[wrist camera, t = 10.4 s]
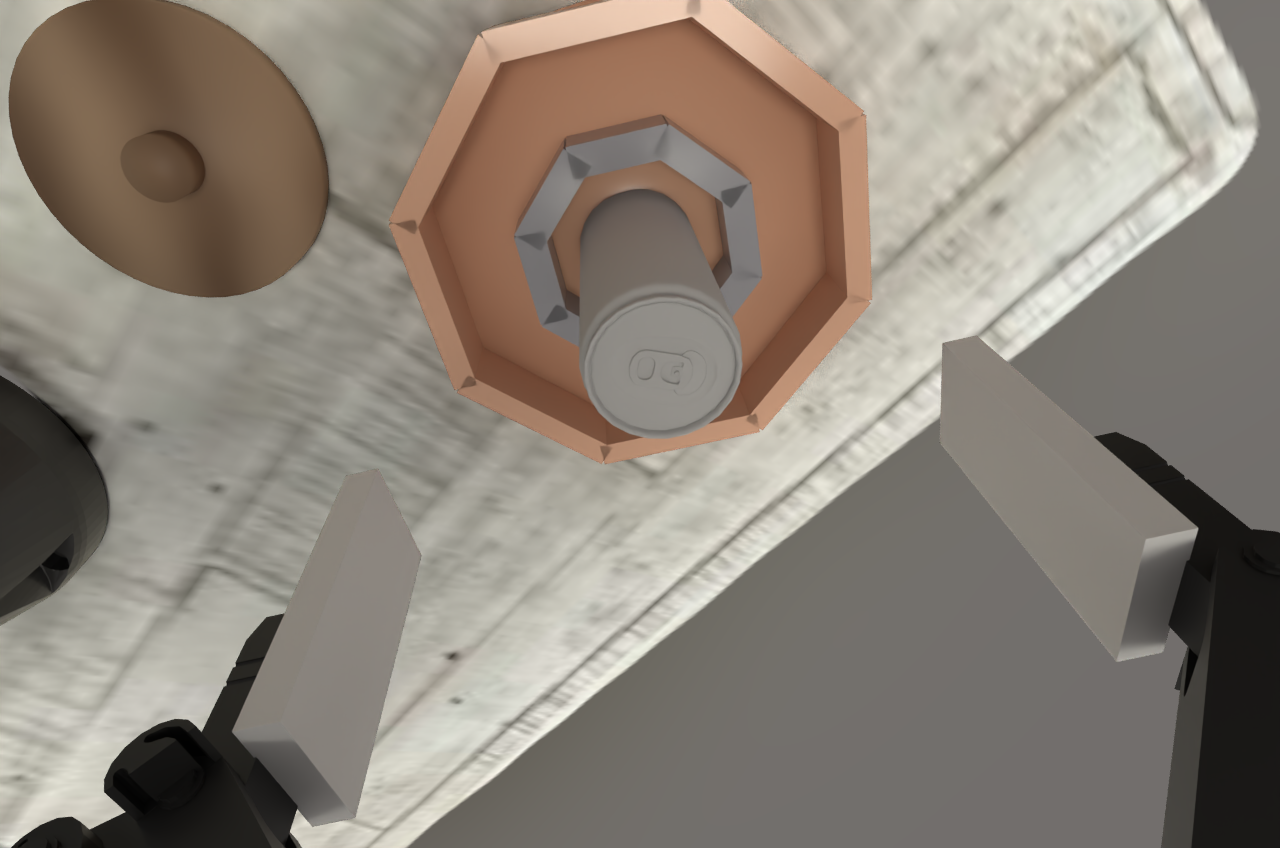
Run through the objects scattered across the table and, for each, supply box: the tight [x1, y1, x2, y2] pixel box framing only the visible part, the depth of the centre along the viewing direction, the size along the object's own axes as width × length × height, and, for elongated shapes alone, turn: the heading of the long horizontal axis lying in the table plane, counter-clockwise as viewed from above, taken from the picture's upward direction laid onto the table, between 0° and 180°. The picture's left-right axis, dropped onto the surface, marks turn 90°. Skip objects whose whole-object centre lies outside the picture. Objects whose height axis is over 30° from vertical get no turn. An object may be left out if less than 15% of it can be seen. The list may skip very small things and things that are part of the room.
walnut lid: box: [9, 0, 329, 297], centre depth 28 cm, size 11×11×3 cm
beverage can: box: [579, 189, 742, 439], centre depth 25 cm, size 5×5×12 cm
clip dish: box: [389, 0, 872, 464], centre depth 30 cm, size 18×18×4 cm
